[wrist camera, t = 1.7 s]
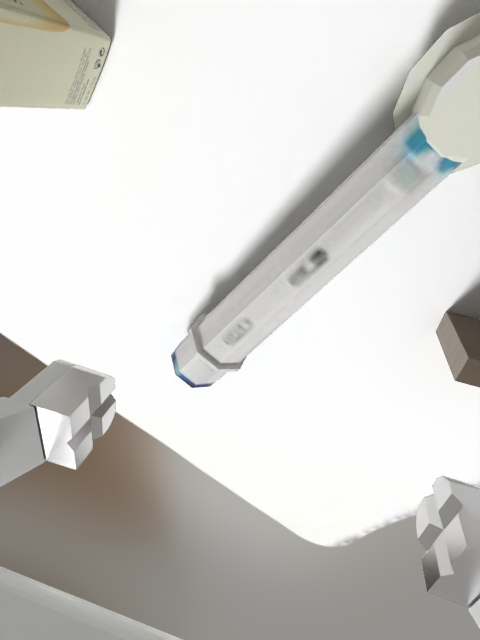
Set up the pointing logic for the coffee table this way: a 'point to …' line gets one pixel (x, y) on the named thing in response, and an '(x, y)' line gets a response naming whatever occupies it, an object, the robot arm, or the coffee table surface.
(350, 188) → the white handheld device
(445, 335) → the bracket
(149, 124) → the coffee table surface
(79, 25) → the skincare box
